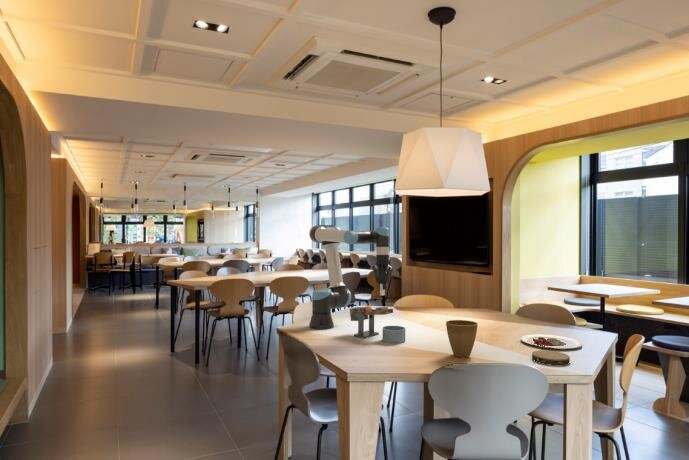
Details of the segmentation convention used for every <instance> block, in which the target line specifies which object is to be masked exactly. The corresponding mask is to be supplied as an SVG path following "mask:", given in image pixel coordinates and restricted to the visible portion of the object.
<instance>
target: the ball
mask: <svg viewBox="0 0 689 460" xmlns="http://www.w3.org/2000/svg"><path fill="white" fill-rule="evenodd" d="M365 307H366V308H365V310H366V311H372V309H373V307H372V306H371V305H366V306H365Z"/></svg>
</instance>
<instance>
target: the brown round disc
mask: <svg viewBox="0 0 689 460" xmlns="http://www.w3.org/2000/svg"><path fill="white" fill-rule="evenodd" d="M570 358H571V357H570V355H568V354H567V353H563V352H560V351H555V350H546V349H545V350H544V349H543V350H542V349H541V350H540V349H539V350H534V351H532V353H531V360H532V361H534V360H535V361H534V362H536V361H537V362H536V363H538V362H540V363H539V364H542V363H544V364H543V365H547V364H551V365H550V366H556V365H562V366H566V365H565V364H568V363H569V362H570V361H571V359H570ZM569 364H570V363H569ZM569 364H568V365H569Z"/></svg>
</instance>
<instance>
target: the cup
mask: <svg viewBox="0 0 689 460" xmlns="http://www.w3.org/2000/svg"><path fill="white" fill-rule="evenodd" d="M382 342H384V343H386V344H394V345H395V344H404V343H406V327H404V326H400V325H385V326H383V327H382Z"/></svg>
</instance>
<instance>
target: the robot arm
mask: <svg viewBox="0 0 689 460" xmlns="http://www.w3.org/2000/svg"><path fill="white" fill-rule="evenodd" d="M309 239H310V240H311V241H312V242H314V243H317V244H319V243H320V244H321V245H322V246H321V247H322V248H323V249H324V251H325V258H326V266H327V273H328V280H329V286H328V287H325V288H316V289H315V290H313V291H312V294H311V295H312V297H311V300H312V301H311V302H312V303H311V305H312V308H311V310H312V311H311V313H312V314H311V317H310V320H309V328H310V329H314V330H328V329H332V328H334V326H335V323H334V321H333V318H332V310H333V309H339V308H340V309H341V308H346V307H347V306H349V305H350V303H351V300H352V293H351V291H350V289H348V288H347V285H346V284H345V283H344V279H343V271H342V267H341V258H340V251H339V246H340V245H341V243H343V244H348V245H358V244H359V245H361V244H362V245H365V244H367V245H369V244H371V245H372V244H375V246H376V247H375V254H376V255H375V261H376V262H375V265H373V266H372V269H373V272H374V278H375V282H376V283H377V284H378V290H379V296H385V295H386V289H387V284H389V282H390V278H391V275H392V271H393V269H394V267H393V266H391V265H390V262H389V261H390V255H389V254H390V229H389V227H376V228H375V230H347V229H341V227H339V226H338V225H335V224H334V225H333V224H316V225H314V226H312V227H311V228H310V229H309Z"/></svg>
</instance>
